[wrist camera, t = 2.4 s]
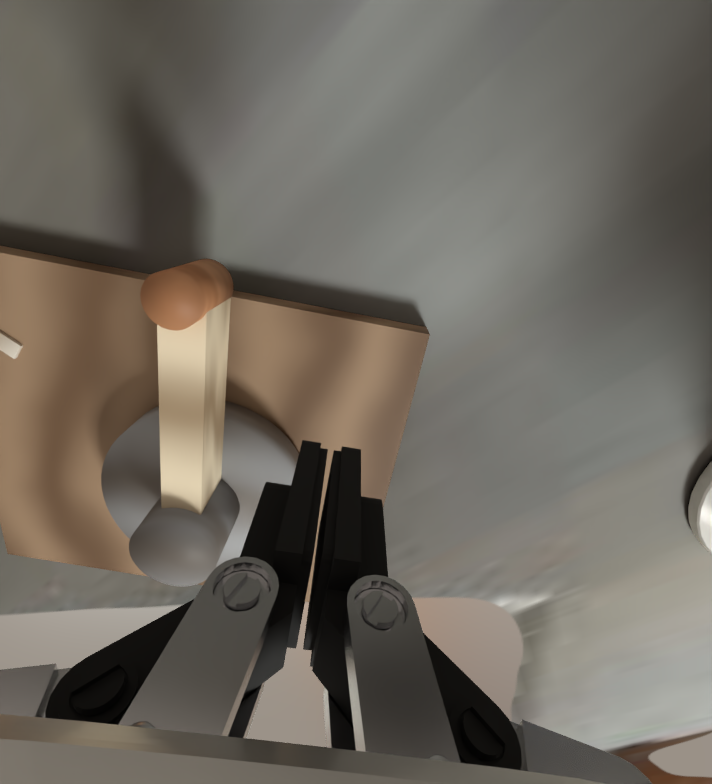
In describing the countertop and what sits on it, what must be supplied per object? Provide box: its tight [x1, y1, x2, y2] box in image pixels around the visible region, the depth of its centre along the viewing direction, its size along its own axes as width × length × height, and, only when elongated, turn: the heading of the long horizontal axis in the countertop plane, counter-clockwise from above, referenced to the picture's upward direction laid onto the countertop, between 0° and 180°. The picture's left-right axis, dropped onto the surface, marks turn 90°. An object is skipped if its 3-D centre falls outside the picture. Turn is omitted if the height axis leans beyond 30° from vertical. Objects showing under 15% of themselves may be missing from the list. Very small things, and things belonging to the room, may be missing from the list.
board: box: [0, 246, 430, 602], centre depth 26 cm, size 26×22×2 cm
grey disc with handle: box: [101, 259, 299, 586], centre depth 21 cm, size 20×12×6 cm, turn 170°
